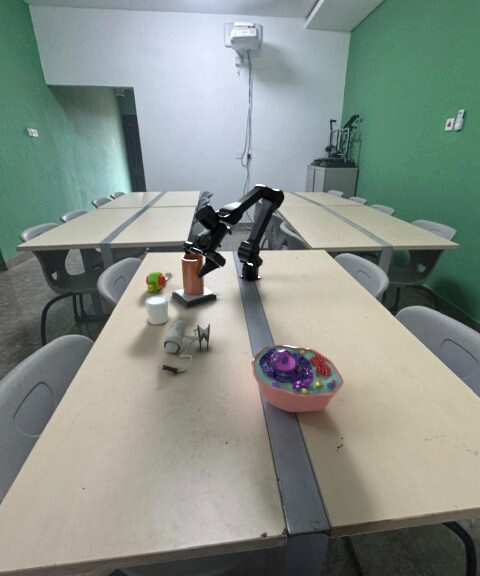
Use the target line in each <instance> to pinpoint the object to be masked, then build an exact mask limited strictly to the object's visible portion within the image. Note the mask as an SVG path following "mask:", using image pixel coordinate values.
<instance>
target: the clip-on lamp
mask: <svg viewBox="0 0 480 576" xmlns="http://www.w3.org/2000/svg"><path fill="white" fill-rule="evenodd" d="M196 326H197V327H196V328H195V329H193V330H192V332H193V333H194V335H188V334H186V332H187V329H188V324H187V323H186V321H184V320H177V321H175V322H174V324H173V326H172V328H171V330H170V333H169V334H168V335H167V336H166V337H165V338H164V339H163V344H162V345H163V348H164V349H165V350H166V351H167V352H168V353H173V354H174V353H176V354H177V353H178V352H180V351H181V350H182V349H183V346H184V339H185V340H192V341H190V342H188V347H187V349H186V350H185V351H184V352H181V354H179V358H186V357H187V358H189V357H190V360H189V362H188V364H187V365H186V366H184V368H182V369H178V367H173V366H169V365H166V364H162V365H159V366H158V368H159V369H161V370H162V371H165V372H169V373H174V374H177V373H180V372H183V371H185V370H187V368H189V366H190V365H191V363H192V361H193V355H191V354H186V353H187V352H188V351H189V350H190V348H191V347H190V346H191V345H192V344H194V343H195V341H198V345H199V352H202V341H203V340H205V342H206V351H209V342H210V335H211V334H210V333H211V324H210V323H208V326H207V327H206V328H204V329H203V328H202V327H201V326H200V324H197V325H196ZM196 332H197V333H196Z"/></svg>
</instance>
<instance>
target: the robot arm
mask: <svg viewBox="0 0 480 576" xmlns="http://www.w3.org/2000/svg"><path fill="white" fill-rule="evenodd" d="M260 200H261V206H262V207H261V210H260V211H259V214H258V216H257V218H256V220H255V223H254V225H253V228H252V229H251V232H250V235H249V237H248V239H246V240H245V241H244V240H242V241H241V242H240V244H239V247H238V248H237V253H236V255H237V258H238V260H239V263H241V264H242V268H241V275H240V276H239V277H240V278H242V279H244V280H245V281H248V282H252V281H256V280H259V279H261V278H262V277H261V276H260V275H259V269H260V267H262V266H263V262H264V260H263V259H262V258H261V256H260V253H261V248H260V247H261V246H260V244H261V241H262V239H263V238H264V235H265V232H266V230H267V227H268V226H269V224H270V221H271V219H272V217H273V214H274V213H275V212H276V211H277V210H279V208H281V207H282V205H283V203H284V201H285V193H284V191H283V190H282V189H278V188H277V189H276V188H271V187H269V186H267V185H264V184H255V185H254V186H253V188H251V189H250V190H249V191H248V192H246V193H245V194H244V195H243V196H241V197H240V198H239V199H237V200H236V201H234V202H231V203H229V204H225V205H223V206H222V207H220V208H219V210H217V211H216V210H215V209H214V207H213V206H212V205H211V204H206V205H205V206H203V207H201V208H200V209H199V210H197V212H196V213H195V215H194V219H195V221H197V222H198V223H199V224H200V225H201V226H202V227H203V228H204V229H205V230H206V231H208V232H207V234H205V233H202V234H201V235H198V234H196V233H192V232H189V234H188V236H187V237H188V238H187V241H184V242H183V244H182V245H181V248H183V249H182V250H183V252H184V255H187V254H199V255H202V256H203V258H204V263H203V267H202V269H201V271H200V272H199V274H198V278H201V277H203V276H204V277H205V276H206V275H208V274H210V273H211V272H213V271H215V270H217V269H220V268H224V267H225V265H226V264H227V259H226V258H225V257H224V256H223V255H222V254H221V253H220V252H218V251H217V250H218V248H219V249H221V248H222V246H223V245H222V244H221V243H222V242H223V240H224V239H225V237H226V236H227V235H229V236H232V235H233V232H232V227H231V226H236V225H238V223H240V221H241V220H242V219H243V216H244V214H245V213H246V212H247V210H249V209H250V208H251V207H253V206H254V205H255V204H256V203H258V202H259V201H260ZM227 225H230V226H227Z"/></svg>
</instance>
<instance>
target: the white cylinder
mask: <svg viewBox="0 0 480 576" xmlns="http://www.w3.org/2000/svg"><path fill="white" fill-rule="evenodd" d="M144 305H145V309H146V313H147V317H148V322H149V324H151V325H162V324H165V323H167V322H168V319H169V299H168V297H167V296H164V295H153V296H150V297H147V298H145V299H144Z"/></svg>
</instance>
